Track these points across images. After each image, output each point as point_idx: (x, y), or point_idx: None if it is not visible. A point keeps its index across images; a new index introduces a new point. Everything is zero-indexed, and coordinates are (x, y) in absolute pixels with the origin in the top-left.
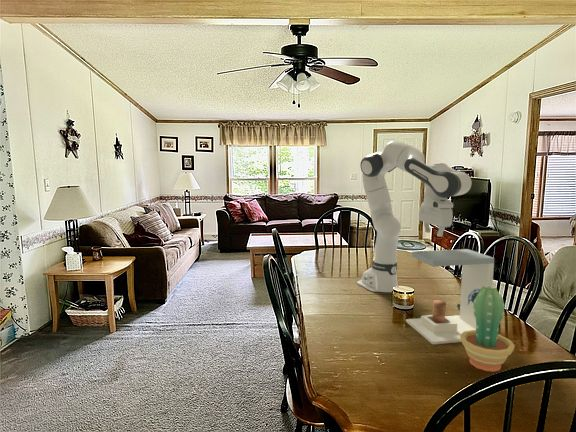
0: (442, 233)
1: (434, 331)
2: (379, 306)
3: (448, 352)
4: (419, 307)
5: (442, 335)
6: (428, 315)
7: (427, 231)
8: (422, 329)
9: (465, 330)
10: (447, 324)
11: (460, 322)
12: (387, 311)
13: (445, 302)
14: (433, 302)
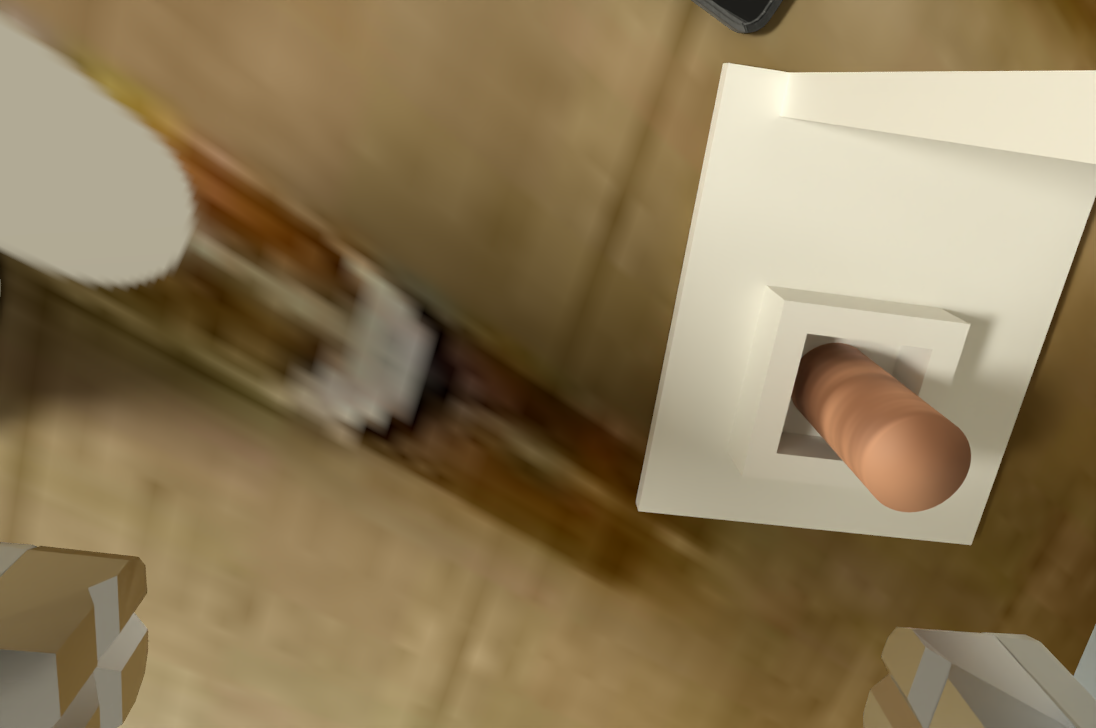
0: (1089, 711)
1: None
2: (320, 529)
3: (1070, 512)
4: (424, 243)
5: None
6: (761, 425)
7: (127, 688)
8: (816, 502)
9: (960, 242)
10: (945, 401)
11: (844, 171)
12: (430, 523)
13: (948, 422)
14: (888, 506)
